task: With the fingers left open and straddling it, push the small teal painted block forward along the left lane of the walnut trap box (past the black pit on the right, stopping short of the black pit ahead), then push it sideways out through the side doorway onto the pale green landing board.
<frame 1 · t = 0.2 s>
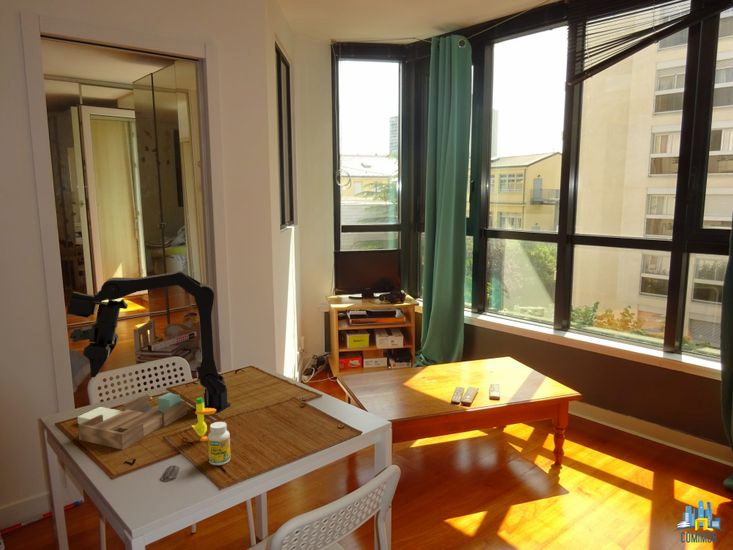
hand: (96, 372, 152), 15 cm above the table, tool pointing down, fingers open, 9 cm apart
supplement bottle: (219, 461, 132), on the table
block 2: (169, 477, 125), on the table
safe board: (102, 421, 155), on the table
trap box: (137, 425, 152), on the table
toy figure: (204, 440, 143), on the table
block: (169, 409, 158), point 2 cm above the table, touching trap box
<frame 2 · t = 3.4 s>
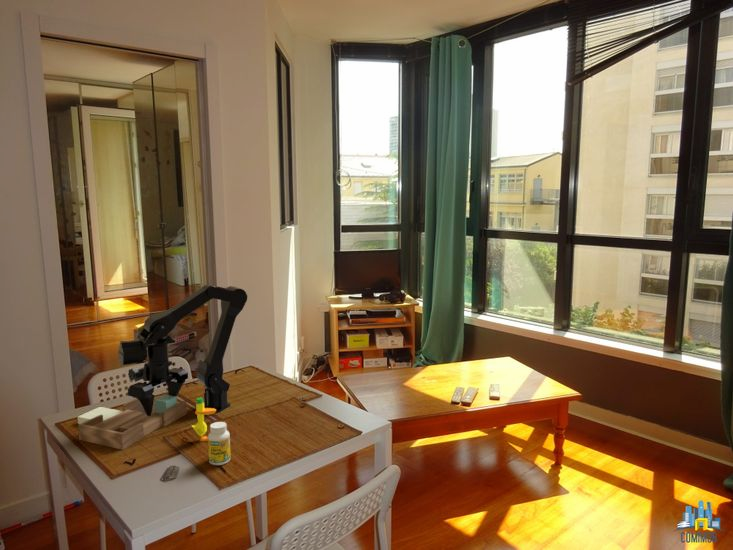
hand: (160, 409, 154), 4 cm above the table, tool pointing down, fingers open, 9 cm apart
block: (166, 410, 157), point 3 cm above the table, touching gripper, trap box
everything else where it was.
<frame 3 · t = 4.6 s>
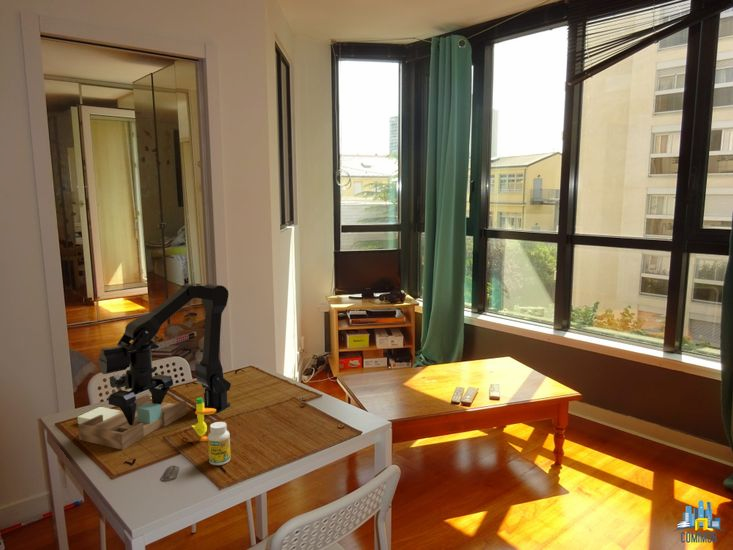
hand: (143, 418, 148), 4 cm above the table, tool pointing down, fingers open, 9 cm apart
block: (149, 419, 150), point 2 cm above the table, touching gripper, trap box
everything else where it was.
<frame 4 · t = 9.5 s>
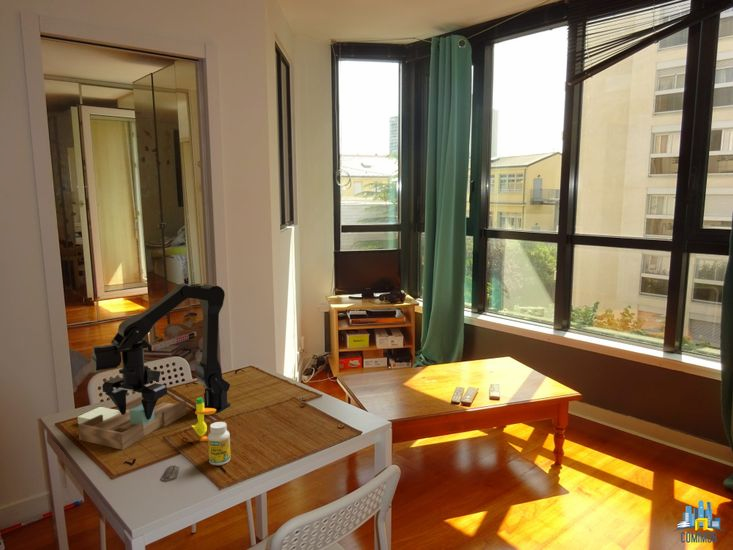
hand: (136, 416, 150), 4 cm above the table, tool pointing down, fingers open, 9 cm apart
block: (142, 421, 149), point 2 cm above the table, touching trap box
everything else where it was.
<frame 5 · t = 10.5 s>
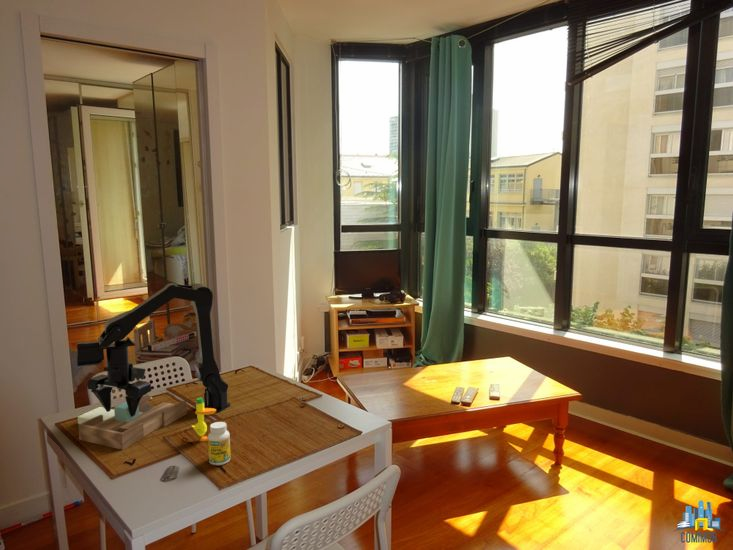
hand: (120, 413, 151), 4 cm above the table, tool pointing down, fingers open, 9 cm apart
block: (127, 418, 151), point 3 cm above the table, touching gripper, trap box
everything else where it was.
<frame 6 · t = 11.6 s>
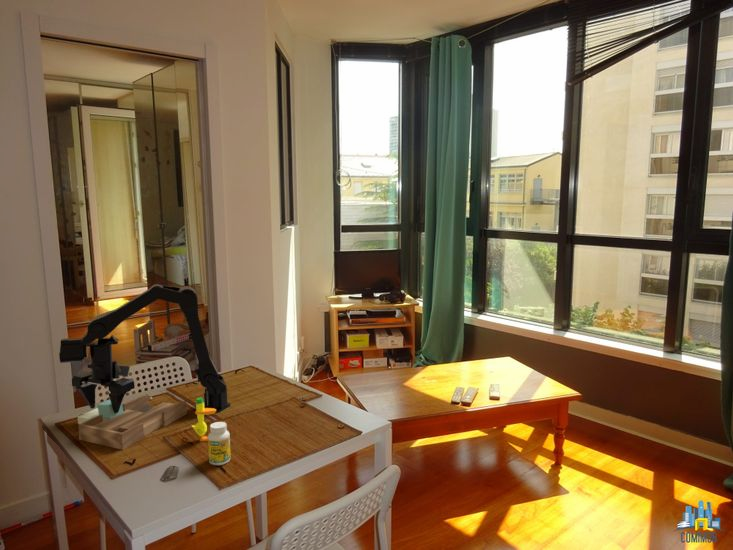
hand: (104, 410, 154), 4 cm above the table, tool pointing down, fingers open, 9 cm apart
block: (111, 415, 153), point 2 cm above the table, touching gripper
everything else where it was.
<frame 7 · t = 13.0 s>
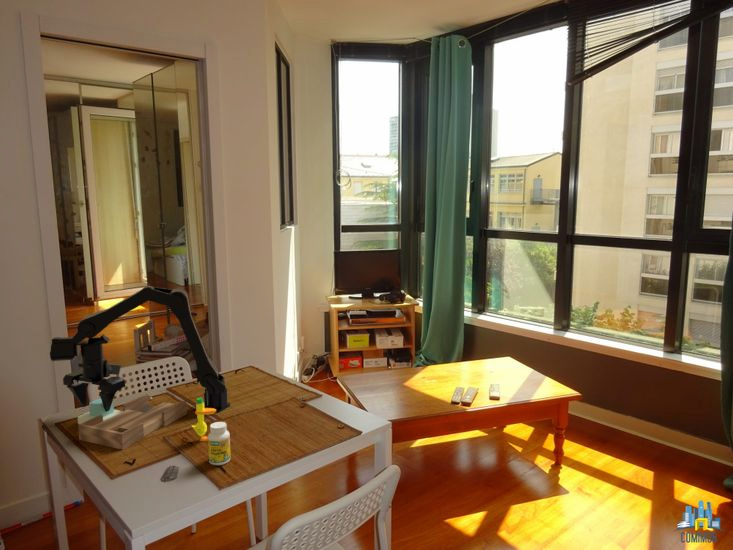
hand: (95, 408, 155), 4 cm above the table, tool pointing down, fingers open, 9 cm apart
block: (102, 414, 155), point 2 cm above the table, touching gripper, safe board
everything else where it was.
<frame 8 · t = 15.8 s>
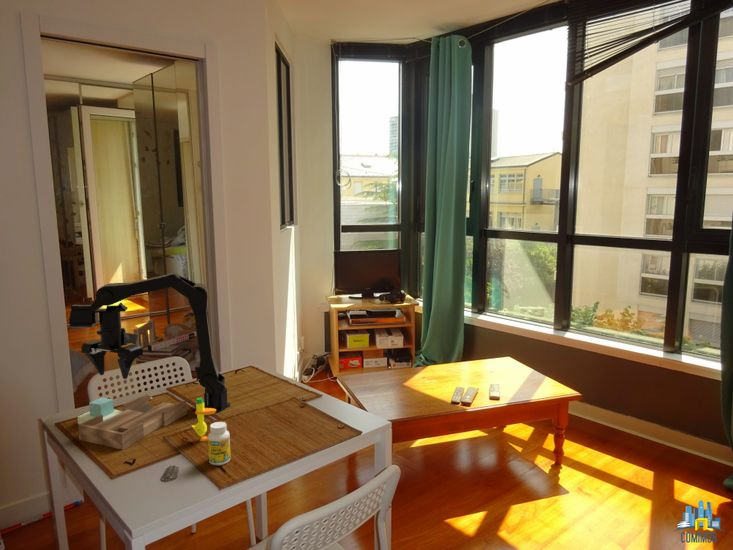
hand: (113, 376, 157), 12 cm above the table, tool pointing down, fingers open, 9 cm apart
block: (102, 414, 155), point 2 cm above the table, touching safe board
everything else where it was.
at the end: block inside the target area on the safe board (0.4 cm from its centre), point 2.2 cm above the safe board's base; block tilted 0° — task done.
